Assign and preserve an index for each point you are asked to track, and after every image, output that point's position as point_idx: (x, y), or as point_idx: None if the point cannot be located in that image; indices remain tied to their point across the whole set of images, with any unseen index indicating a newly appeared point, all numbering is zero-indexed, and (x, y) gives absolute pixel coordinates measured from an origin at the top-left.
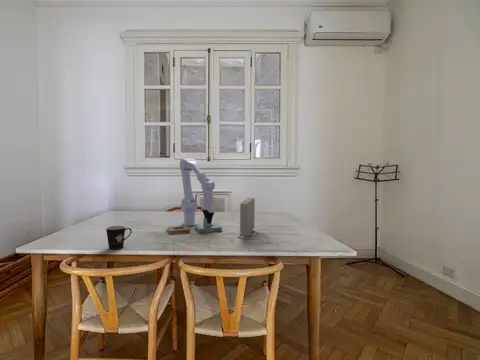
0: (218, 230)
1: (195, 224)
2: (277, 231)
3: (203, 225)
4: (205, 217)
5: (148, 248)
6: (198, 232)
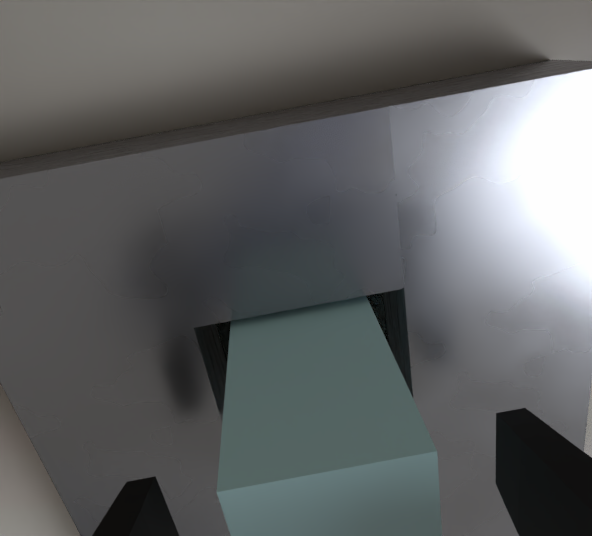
0: None
1: (564, 76)
2: None
3: (320, 316)
4: (574, 517)
5: None
6: (23, 158)
